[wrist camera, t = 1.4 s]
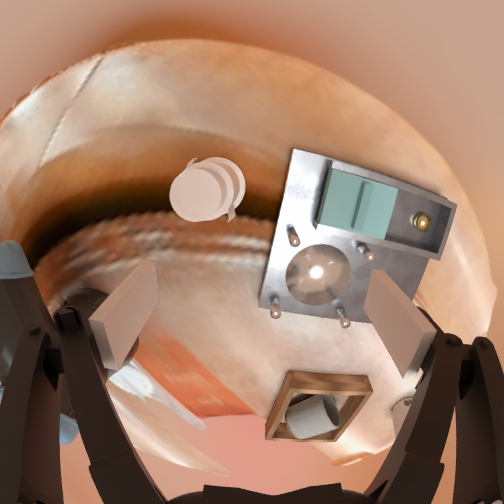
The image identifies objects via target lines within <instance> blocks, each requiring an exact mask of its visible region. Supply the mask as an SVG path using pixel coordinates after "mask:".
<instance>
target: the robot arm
mask: <svg viewBox="0 0 504 504" xmlns="http://www.w3.org/2000/svg"><path fill="white" fill-rule="evenodd" d="M33 275H34V272H33V270H31V268H30V266H29V263H28V261H27V258H26V256H25V253H24V251H23V249H22V247H21V245H20V244H19V243H18V242H16V241H14V240H6V241H3V242H0V382H1V385H0V402H1V404H0V504H64V501H63V491H62V481H61V468H60V444H70V443H71V442H73V441H74V439H75V438H76V436H77V434H78V433H79V431H80V434H81V437H82V440H83V443H84V446H85V449H86V452H87V454H88V457H89V460H90V463H91V465H90V466H89V471H90V474H91V477H92V479H93V481H94V483H95V486H96V488H97V490H98V492H99V494H100V497H101V499H102V501H103V503H104V504H431V502H432V500H433V497H434V495H435V493H436V490H437V488H438V485H439V482H440V480H441V477H442V474H443V471H444V463H440V460H441V456H442V453H443V450H444V447H445V443H446V440H447V436H448V433H449V429H450V425H451V421H452V416H453V412H454V407H455V411H456V438H457V440H456V443H457V444H456V472H455V484H454V493H453V503H452V504H504V373H503V370H502V367H501V364H500V361H499V359H498V356H497V353H496V351H495V348H494V345H493V344H492V342H491V341H490V340H489V339H487V338H486V337H479V336H478V337H476V338H475V339H474V341H473V343H472V345H468V344H463V342H462V340H461V339H460V338H459V337H457V336H456V335H454V334H450V333H444V332H443V331H442V330H441V329H440V327H439V326H438V325H437V324H436V323H435V322H433V319H432V318H431V317H430V316H429V315H428V314H427V312H426V311H425V310H423V309H421V308H420V307H418V306H415V304H414V303H413V302H412V301H411V300H410V299H409V298H408V297H407V295H406V294H405V293H404V292H403V291H402V290H401V289H400V288H399V287H398V286H397V284H396V283H395V282H394V281H393V280H392V279H391V278H390V277H389V276H388V275H387V274H386V273H385V272H384V271H383V270H372V273H371V277H370V282H369V286H368V291H367V295H366V299H365V303H364V307H363V309H364V310H365V312H366V314H367V315H368V317H369V319H370V321H371V322H372V324H373V326H374V327H375V329H376V331H377V332H378V334H379V336H380V338H381V339H382V341H383V343H384V345H385V347H386V348H387V350H388V352H389V354H390V355H391V357H392V359H393V361H394V363H395V365H396V366H397V368H398V370H399V372H400V374H401V376H402V378H403V379H404V378H410V377H416V375H417V373H418V371H419V369H420V367H421V369H422V370H423V374H422V376H421V378H420V380H419V382H418V384H417V385H416V387H415V389H417V390H416V392H415V395H414V398H413V400H412V403H411V405H410V408H409V410H408V413H407V415H406V418H405V420H404V422H403V424H402V427H401V429H400V431H399V433H398V435H397V437H396V440H395V442H394V444H393V446H392V448H391V450H390V452H389V453H388V455H387V457H386V459H385V461H384V463H383V465H382V466H381V468H380V470H379V472H378V473H377V475H376V477H375V478H374V480H373V482H372V483H371V485H370V486H369V487H368V489H367V490H366V491H365V492H364V493H363V494H361V493H359V492H355V491H350V490H343V489H342V488H341V483H335V484H328V485H319V486H310V487H306V488H303V489H299V490H296V491H292V492H288V493H284V494H280V495H266V494H262V493H258V492H253V491H249V490H245V489H241V488H233V487H221V486H211V485H204V489H203V491H199V492H193V493H188V494H184V495H181V496H178V497H176V498H173V499H172V500H169V501H167V499H166V498H165V496H164V495H163V494H162V492H161V491H160V489H159V488H158V486H157V485H156V484H155V482H154V480H153V479H152V477H151V476H150V474H149V472H148V471H147V469H146V468H145V466H144V464H143V462H142V461H141V459H140V457H139V456H138V454H137V452H136V450H135V448H134V446H133V444H132V442H131V441H130V439H129V437H128V435H127V433H126V431H125V429H124V427H123V425H122V422H121V420H120V418H119V416H118V414H117V412H116V409H115V407H114V405H113V402H112V400H111V398H110V395H109V393H108V390H107V388H106V385H105V383H106V381H107V380H108V378H109V377H111V376H112V375H113V374H115V373H116V372H117V371H119V370H120V369H121V368H122V367H124V366H126V365H127V364H128V363H129V362H130V361H131V360H132V358H133V356H134V354H135V353H136V351H137V348H138V335H139V334H140V332H141V330H142V329H143V327H144V325H145V324H146V322H147V320H148V319H149V317H150V315H151V314H152V312H153V310H154V309H155V307H156V305H157V304H158V302H159V292H158V284H157V275H156V266H155V260H143V261H142V262H141V263H140V264H139V265H138V266H137V267H136V268H135V269H134V270H133V271H132V272H131V273H130V274H129V275H128V276H127V277H126V278H125V279H124V280H123V281H122V283H121V284H120V285H119V286H118V287H117V288H116V289H115V290H114V291H113V292H112V293H111V294H110V295H106V294H104V293H102V292H100V291H97V290H94V289H88V288H83V289H78V290H76V291H74V292H73V293H72V294H71V295H69V296H68V297H67V298H66V299H65V300H64V302H63V303H62V305H61V308H59V309H58V310H56V311H55V312H54V314H53V319H54V321H55V322H54V321H53V319H52V317H51V315H50V313H49V311H48V309H47V307H46V305H45V303H44V301H43V298H42V296H41V294H40V291H39V289H38V286H37V284H36V281H35V279H34V276H33Z"/></svg>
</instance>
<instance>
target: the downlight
mask: <svg viewBox="0 0 504 504" xmlns="http://www.w3.org/2000/svg"><path fill="white" fill-rule="evenodd" d="M197 159H198V158H193V159H192V160H191V161H189V162H188V164H187V167H186V169H185V170H184V171H183V172H182V173H181V174H179V175H178V176H177V177H176V178H175V180H174V181H173V183H172V185H171V188H170V202H171V205H172V207H173V209H174V211H175V212H176V213H177V214H178V215H179V216H180V217H182V218H183V219H185V220H188V221H191V222H200V221H209V220H213V219H216V218H218V217H220V216H221V215H223V214H226V213H228V217H229V220H228V222H229V221H230V220H231V219H233V218H234V217H235V210H234V209H235V208H236V207H237V206H238V205H239V204H240V202H241V201H242V199H243V196H244V193H245V179H244V176H243V173H242V172H241V170H240V169H239V167H238V166H237V165H236V164H235V163H233V162H232V161H230V160H228V159H225V158H221V157H212V158H208V159H205V160H203V161H201V162H198V163H195V164H193V162H194V161H195V160H197Z"/></svg>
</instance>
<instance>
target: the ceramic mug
mask: <svg viewBox="0 0 504 504" xmlns="http://www.w3.org/2000/svg"><path fill="white" fill-rule="evenodd" d="M285 422H286V426H287V428H288V430H289V432H290V433H291V435H292V436H294V437H295V438H297V439H306V438H310V437H313V436H316V435H319V434H322V433H325V432H328V431H331V430H334V429H337V428H338V427H339V426H340V422H341V420H340V414H339V411H338V408H337V406H336V404H335V402H334V400H333V398H332V397H331V396H330V395H323V394H317V395H314V396H312V397H310V398H308V399H306V400H304V401H301V402H299V403H297V404H295V405H293V406H291V407H290V408H288V409H287V411H286V414H285Z"/></svg>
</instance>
